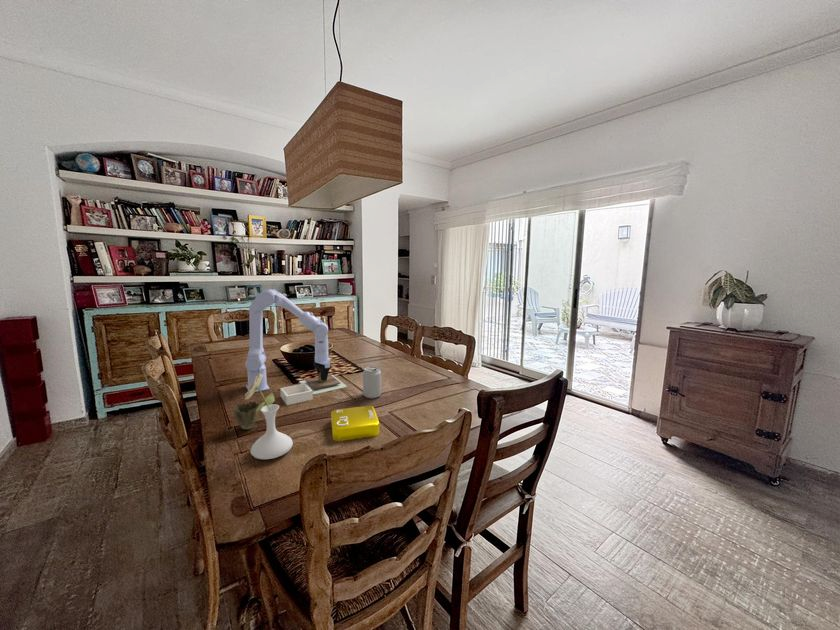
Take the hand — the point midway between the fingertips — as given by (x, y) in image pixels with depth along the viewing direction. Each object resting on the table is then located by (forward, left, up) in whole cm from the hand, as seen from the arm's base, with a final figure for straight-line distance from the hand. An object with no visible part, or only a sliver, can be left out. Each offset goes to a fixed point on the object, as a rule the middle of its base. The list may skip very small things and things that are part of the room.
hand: (322, 378), depth 147 cm
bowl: (+9, -14, -3) cm, 17 cm away
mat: (0, 0, -3) cm, 3 cm away
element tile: (+43, -4, -3) cm, 44 cm away
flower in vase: (+44, -31, -3) cm, 53 cm away
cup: (+24, -34, -3) cm, 42 cm away
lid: (0, 0, -2) cm, 2 cm away
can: (+23, +13, -3) cm, 27 cm away
